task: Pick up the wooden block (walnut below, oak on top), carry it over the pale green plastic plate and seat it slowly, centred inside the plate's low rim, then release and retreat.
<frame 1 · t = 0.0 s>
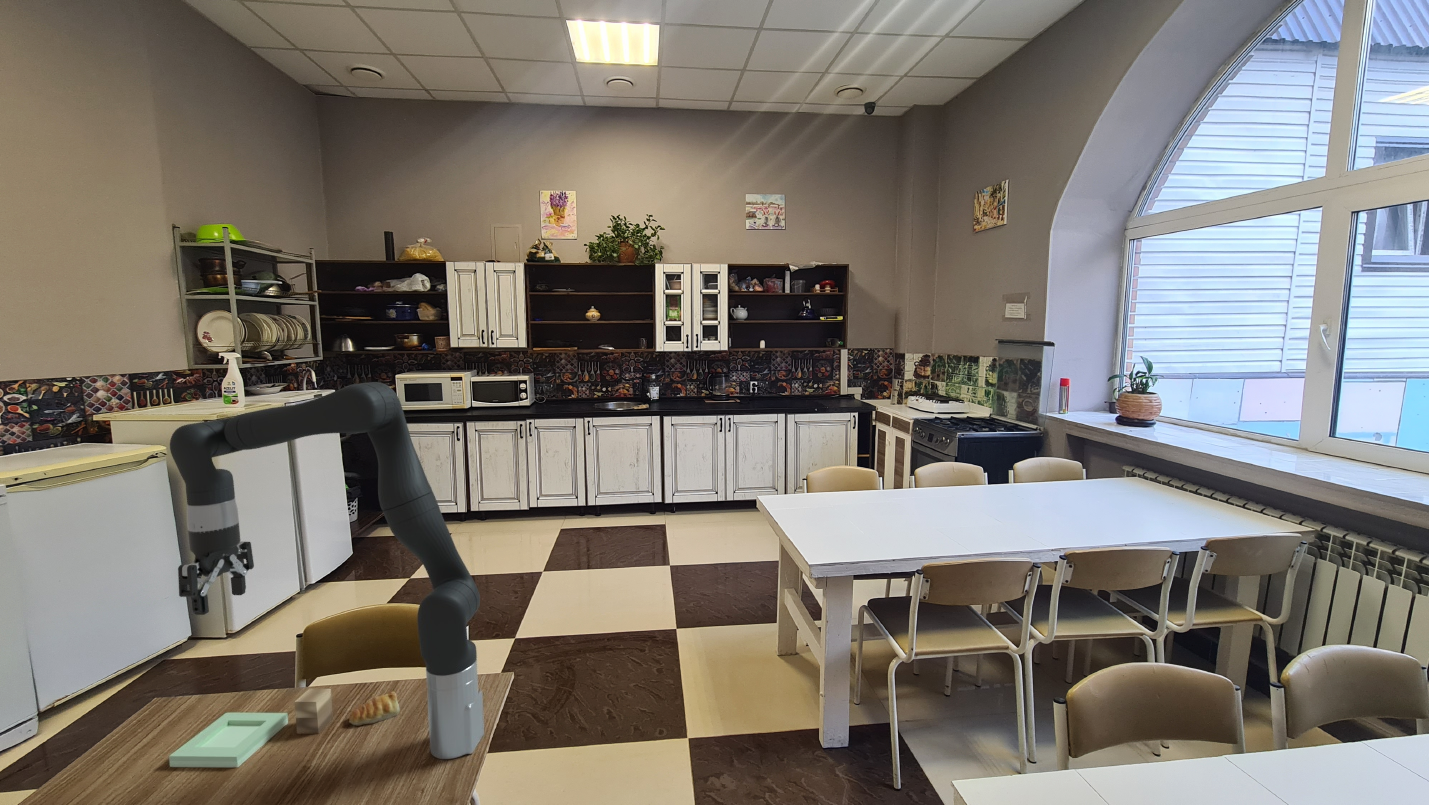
hand: (221, 603, 114), 29 cm above the table, fingers open, 8 cm apart
wooden block: (315, 726, 122), on the table
plate: (232, 743, 117), on the table
pastry: (378, 716, 126), on the table
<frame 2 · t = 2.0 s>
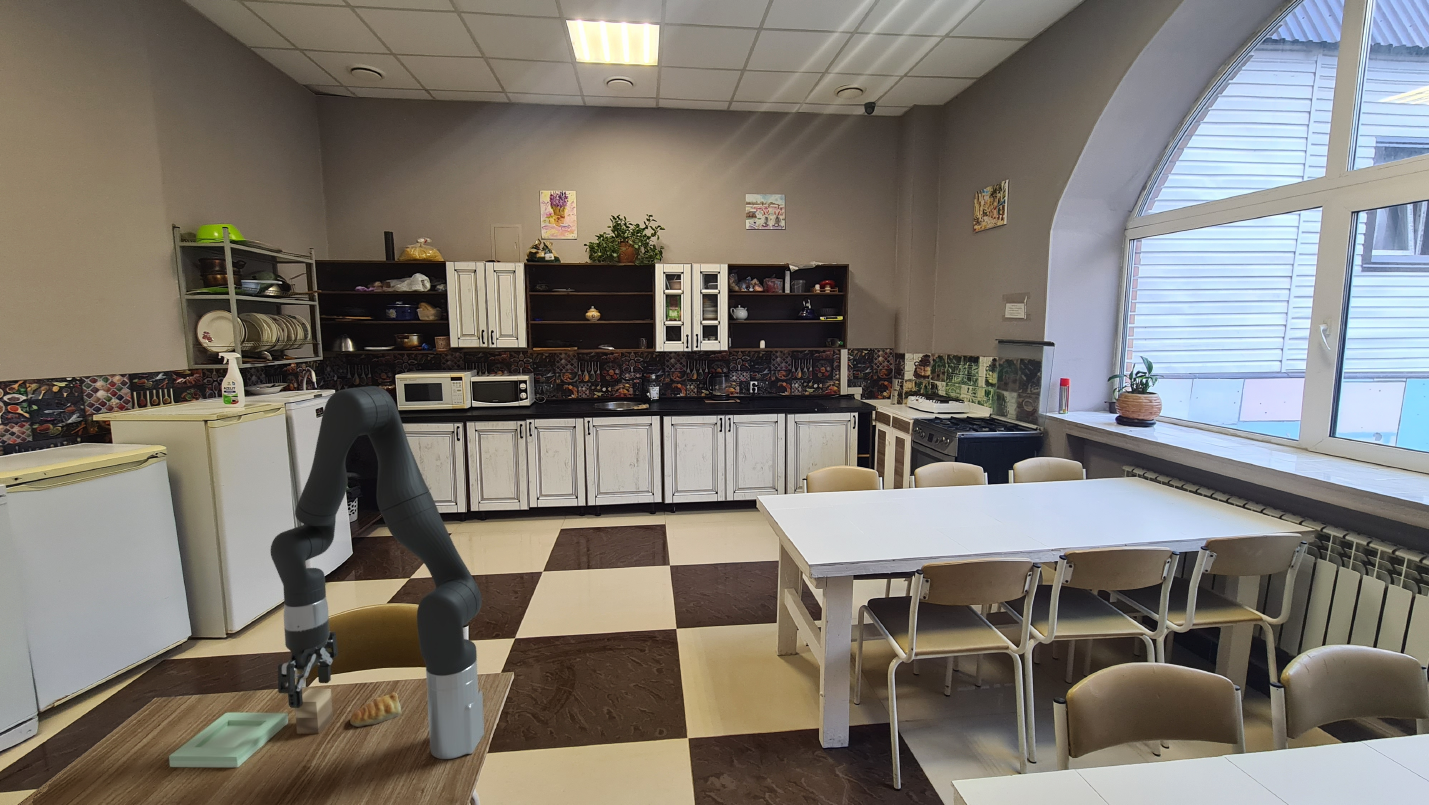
hand: (311, 694, 122), 7 cm above the table, fingers open, 8 cm apart
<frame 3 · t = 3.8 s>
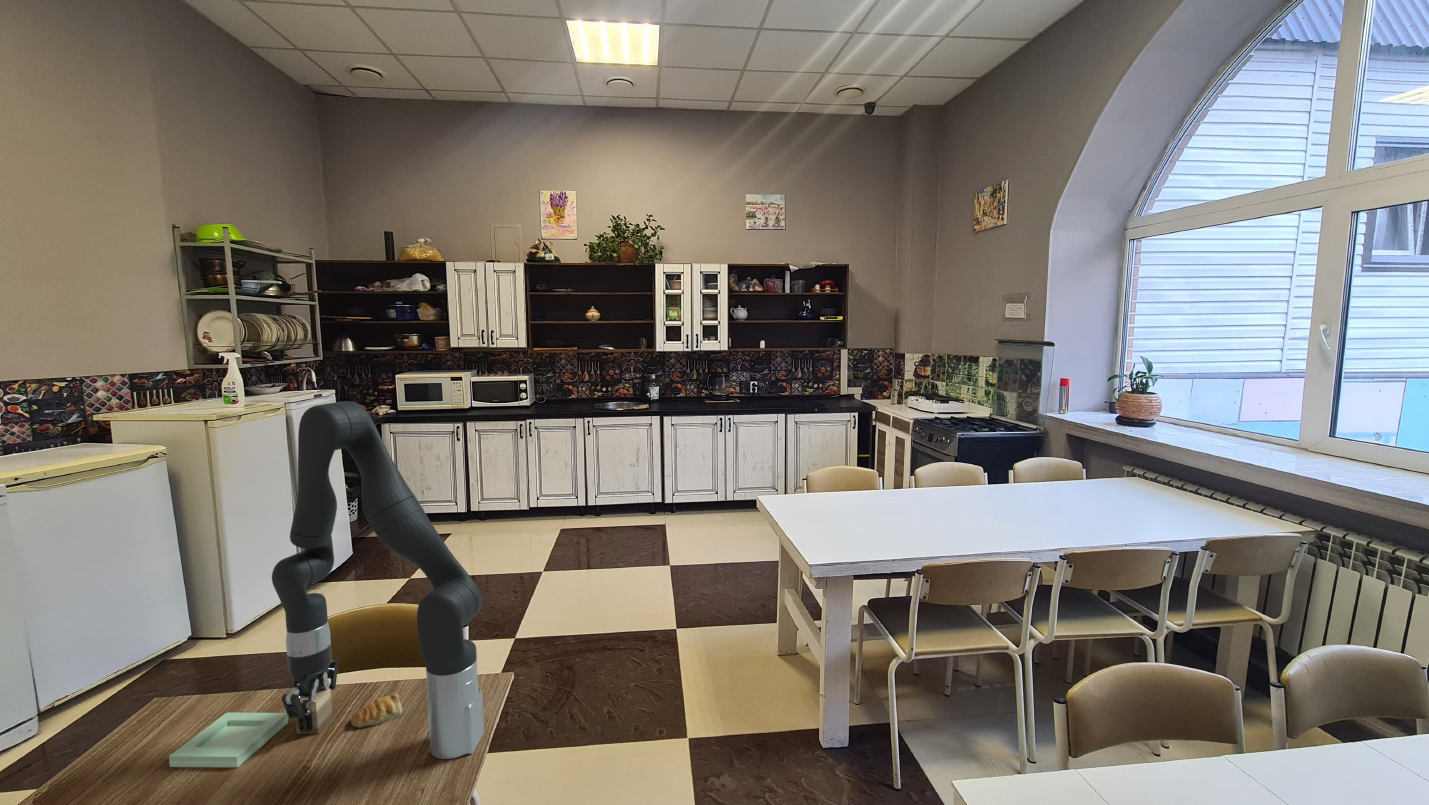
hand: (314, 722, 122), 1 cm above the table, fingers closed on wooden block, 4 cm apart
wooden block: (315, 726, 122), on the table, touching gripper
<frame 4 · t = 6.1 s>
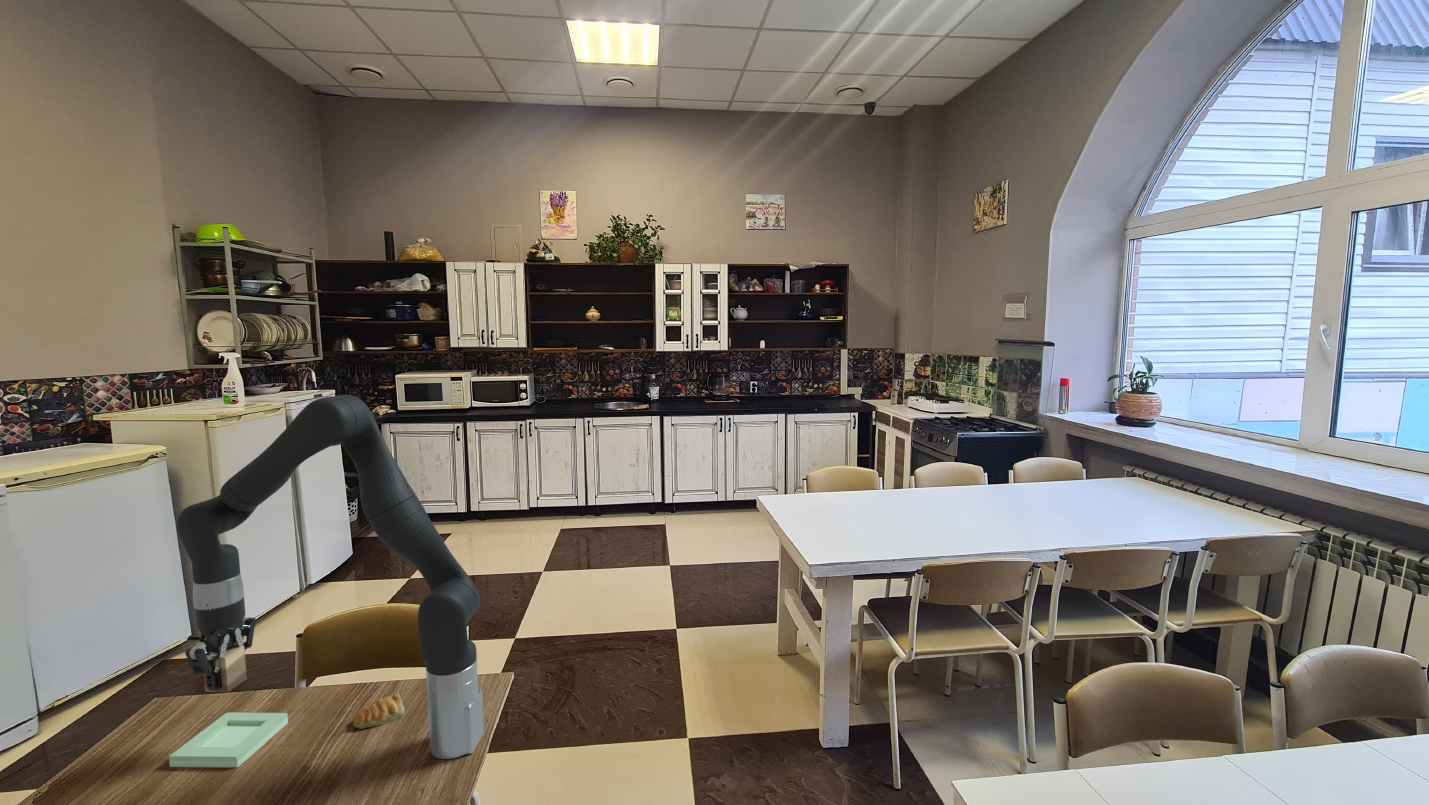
hand: (226, 681, 116), 13 cm above the table, fingers closed on wooden block, 4 cm apart
wooden block: (226, 685, 116), point 13 cm above the table, touching gripper
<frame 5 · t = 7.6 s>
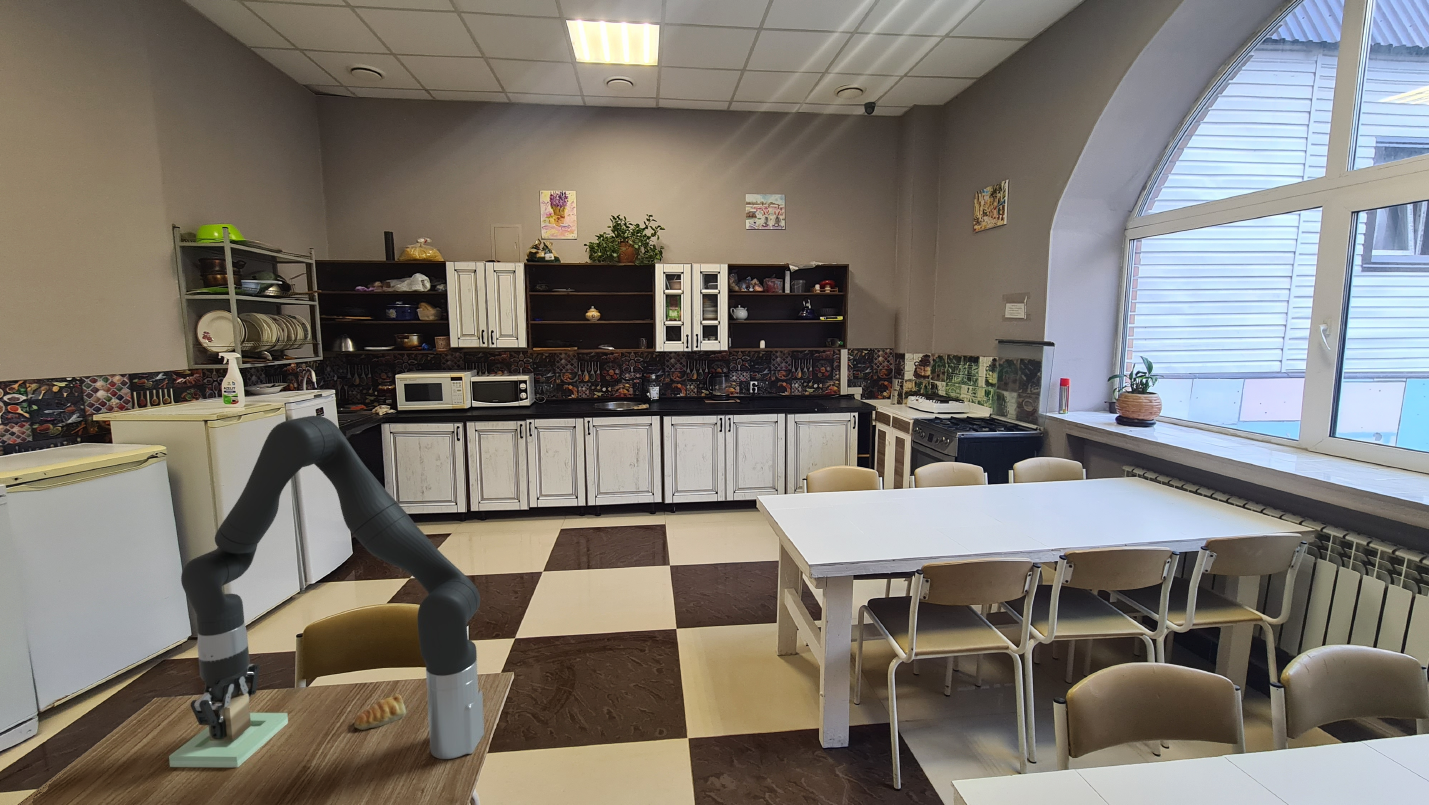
hand: (231, 729, 117), 3 cm above the table, fingers closed on wooden block, 4 cm apart
wooden block: (230, 733, 117), point 2 cm above the table, touching gripper
when the fingers open (3 cm above the table, at t = 8.7 s): wooden block stays where it is, resting on plate.
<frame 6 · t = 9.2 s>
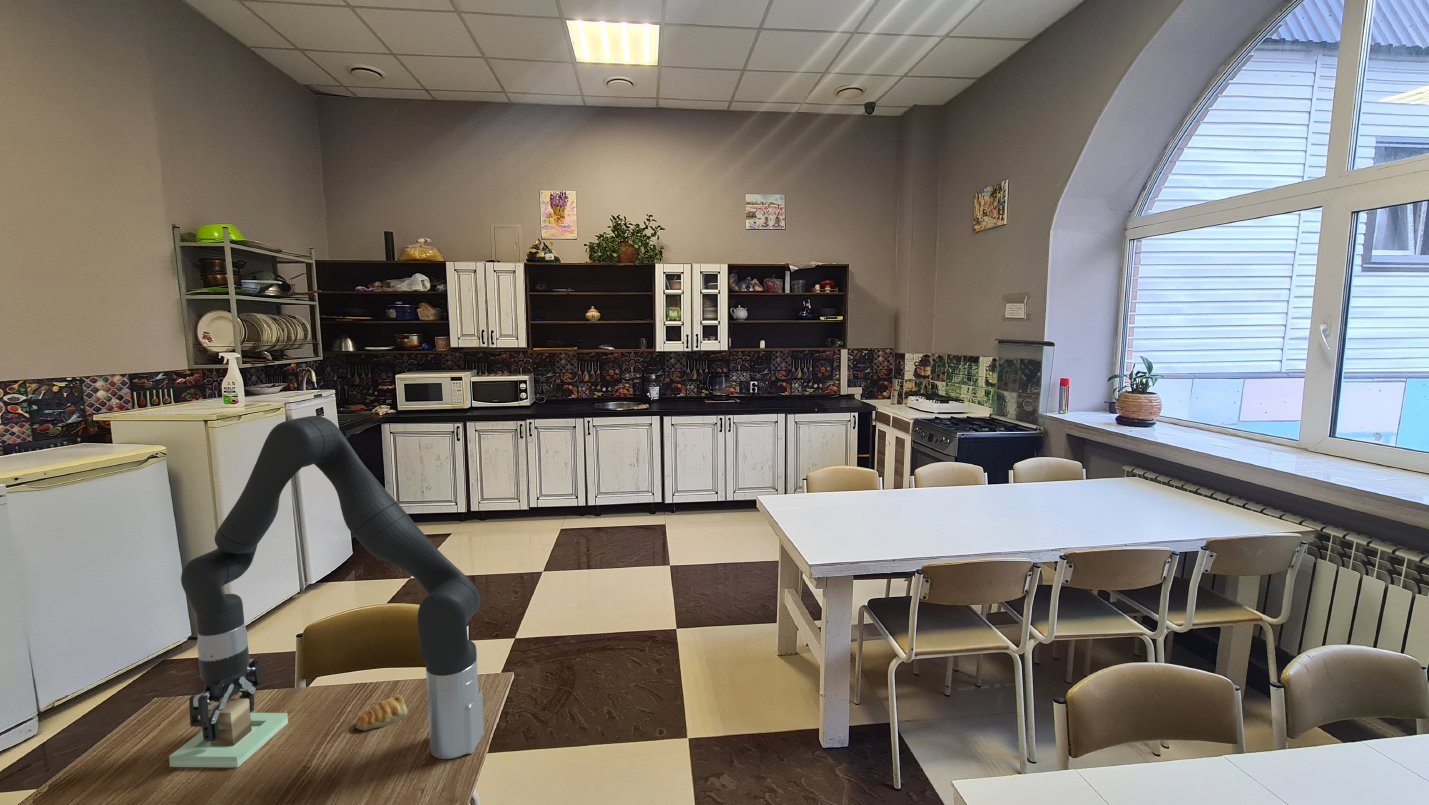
hand: (230, 725, 117), 4 cm above the table, fingers open, 8 cm apart
wooden block: (231, 738, 117), point 1 cm above the table, touching plate
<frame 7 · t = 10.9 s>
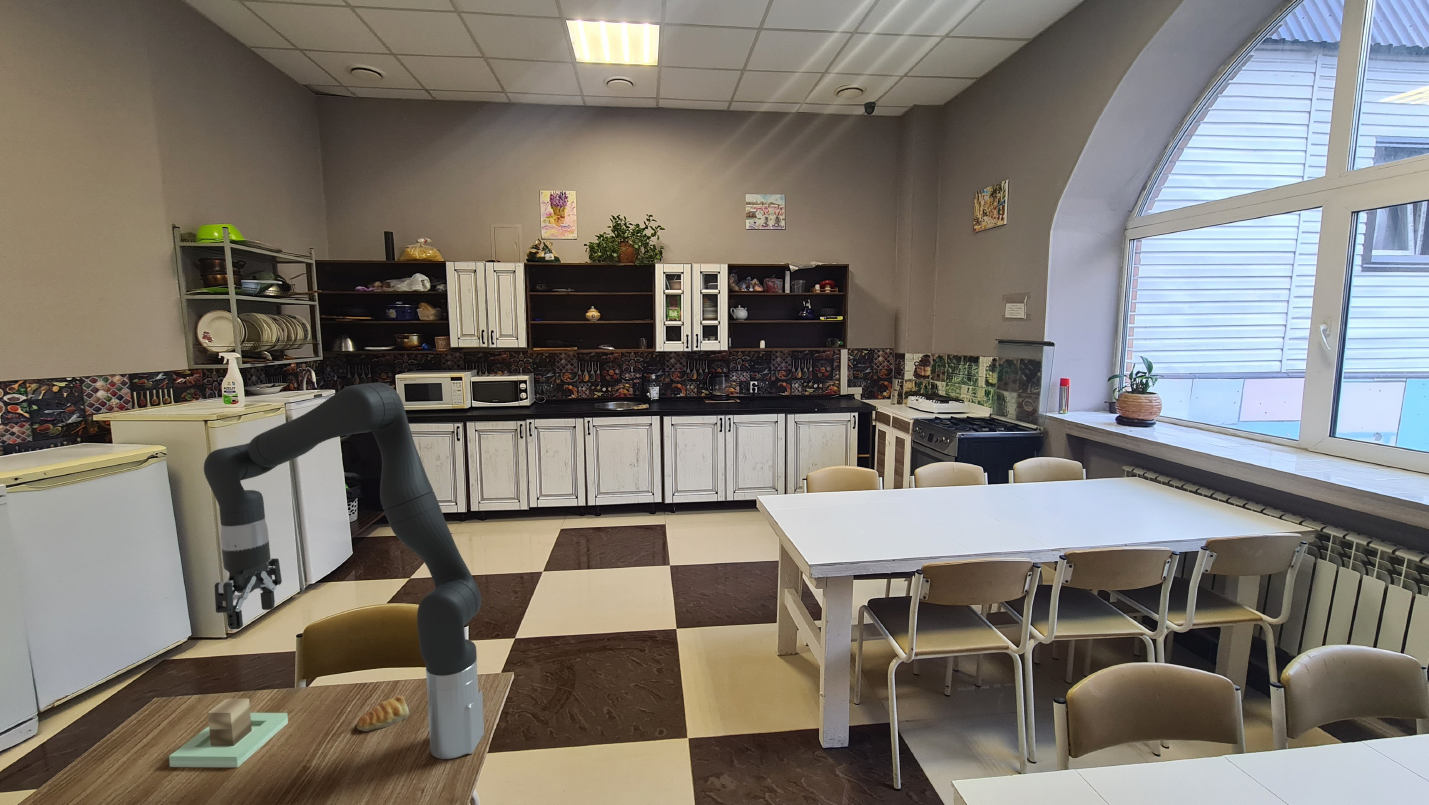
hand: (253, 618, 120), 24 cm above the table, fingers open, 8 cm apart
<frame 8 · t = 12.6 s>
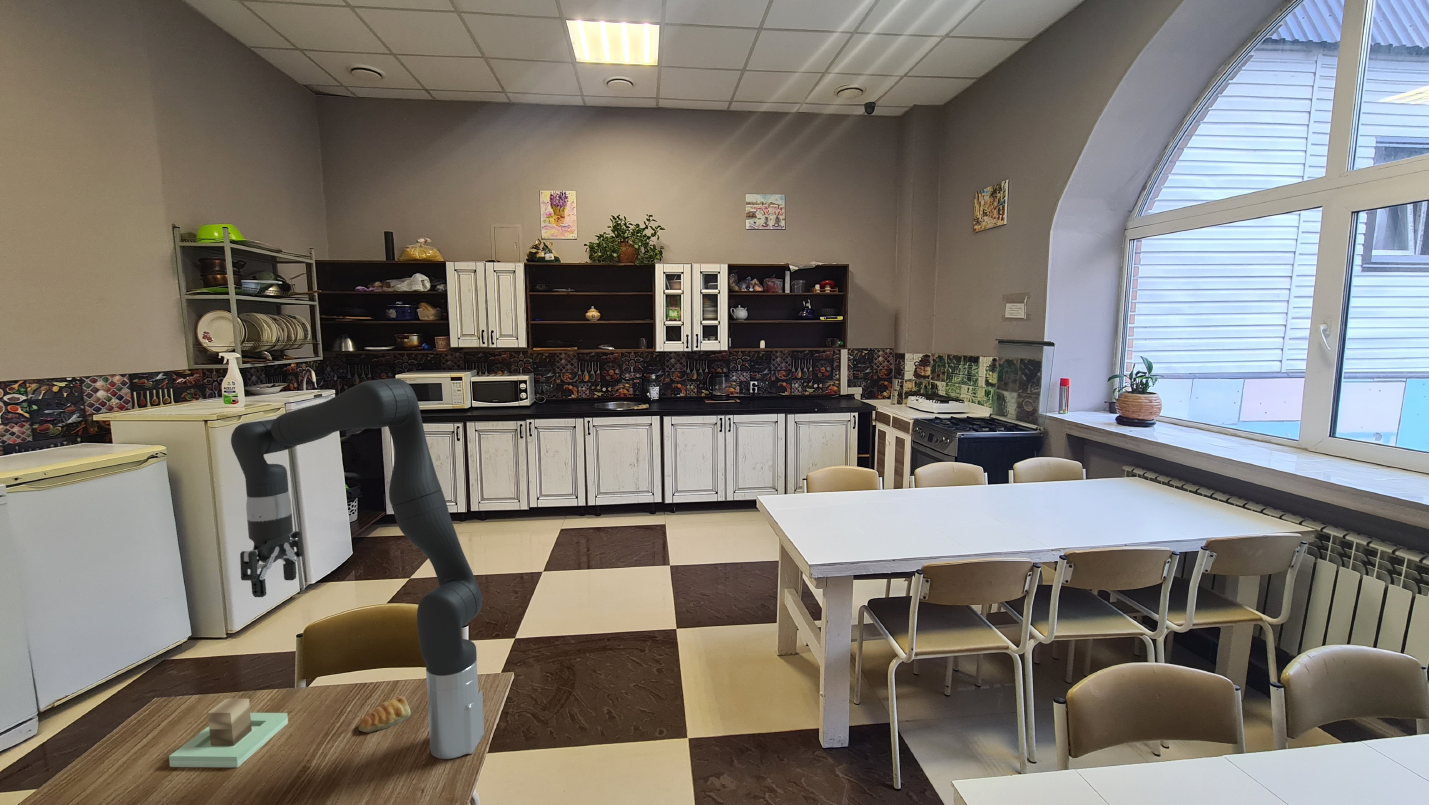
hand: (275, 587, 124), 28 cm above the table, fingers open, 8 cm apart
at the end: wooden block 0.0 cm off-centre on the plate, point 1.2 cm above the plate's base; wooden block tilted 0°; the gripper is holding nothing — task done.
